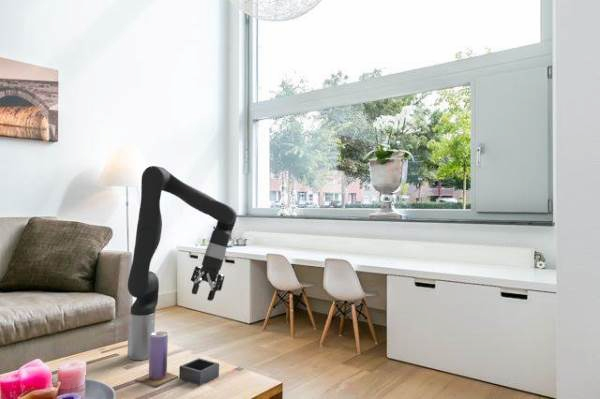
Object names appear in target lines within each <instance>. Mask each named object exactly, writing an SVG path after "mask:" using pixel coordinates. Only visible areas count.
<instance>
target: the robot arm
mask: <svg viewBox="0 0 600 399" xmlns="http://www.w3.org/2000/svg"><path fill="white" fill-rule="evenodd" d="M140 185H141V186H140V188H141V190H140V191H141V192H140V196H141V197H140V204H139V212H138V219H137V224H136V235H135V242H134V249H133V256H132V262H131V268H130V271H129V276H128V278H127V290H128V293H129V294H130V296H132V297H133V298H135V301H134V302H133V303H132V304H131V306H130V316H129V317H130V318H129V320H130V321H129V331H128V333H127V357H128V358H129V359H130V360H134V361H144V360H149V351H150V336H151V333H154V332H156V331H155V330H156V329H155V328H156V327H155V326H156V308H157V305H158V301H159V289H160V283H159V277H158V276H157V274H156V273H155V272H153V271H150V266H151V262H152V259H153V257H154V254H156V251H157V249H158V247H159V245H160V242H161V236H162V232H163V231H162V228H163V218H162V213H161V206H160V205H161V197H162V196H161V195H162V191H164V192H165V193H169V194H171V195H173V196H174V197H176V198H179V199H180V200H181V201H182V202H184V203H185V204H187V205H188V206H190V207H191V208H193V209H195V210H196V211H199V212H200V213H203V214H205V215H208V216H210V217H211V218H212V219H214V220H216V225H215V228H214V229H213V230H212V233H211V235H210V240H209V242H208V244H207V246H206V249H205V251H204V252H205V253H204V255H203V259H202V263H201V266H197V265H196V266H195V268H194V269H193V271H192V275H191V278H190V281H192V282H193V286H192V288H191V294H192V295H197V294H198V292H199V287H200V284H201V283H202V282H206V283H208V286H209V288H210V290H209V292H208V295H207V301H210V302H211V301H213V300H214V298H215V295H216V292H221V291H222V289H223V284H224V280H225V275H224V274H219V272H220V270H222V266H223V262H224V259H225V256H226V253H227V247H228V244H229V240H230V237H231V234H232V231H233V229H234V227H235V224H236V221H237V218H238V217H237V216H238V215H237V212H236V210H235V209H234V208H233V207H231V206H229V205H228V204H225V203H223V202H222V201H219V200H216V199H215V198H214V197H212V196H210V195H208V194H207V193H204V192H202V191H201V190H199V189H196V188H195V187H192V186H191V185H188V184H187V183H185V182H183V180H180V179H179V178H177V177H176V176H174V175H173V173H171V172H169V171H168V170H167V169H166V168H164V167H161V166H157V165H150V166H148V167H146V168H145V169H144V170H143V172H142V175H141V183H140Z"/></svg>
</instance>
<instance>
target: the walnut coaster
mask: <svg viewBox="0 0 600 399" xmlns="http://www.w3.org/2000/svg"><path fill="white" fill-rule="evenodd" d="M177 379H179V375H176V374H173V373H170V372H167V375H166V377H165V378H164V379H161V380H152V379H150V378H149V373H147V374H145V375H142V376H140V377H137V378H135V382H138V383H141V384H144V385H147V386H150V387H153V388H158V387H161V386H163V385H166V384H167V383H171V381H174V380H177Z"/></svg>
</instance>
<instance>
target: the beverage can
mask: <svg viewBox="0 0 600 399" xmlns="http://www.w3.org/2000/svg"><path fill="white" fill-rule="evenodd" d="M168 343H169V336H168V332H166V331H155V332H154V333H151V336H150V351H149V359H148V374H149V378H150V379H152V380H161V379H164V378H165V377H166V375H167V373H168V349H169V348H168V345H169V344H168Z"/></svg>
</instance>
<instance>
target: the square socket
mask: <svg viewBox="0 0 600 399" xmlns="http://www.w3.org/2000/svg"><path fill="white" fill-rule="evenodd" d="M178 374H179V375H178V379H179V380H181V381H184V382H188V383H191V384H194V385H196V386H202V385H205V384H207V383H208V382H210V381H212V380H215V379H217V377H219V376H220V363H219V362H215V361H212V360H208V359H204V358H201V357H200V358H196V359H194V360H191V361H189V362H186V363H184V364H181V365H179V373H178Z"/></svg>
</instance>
